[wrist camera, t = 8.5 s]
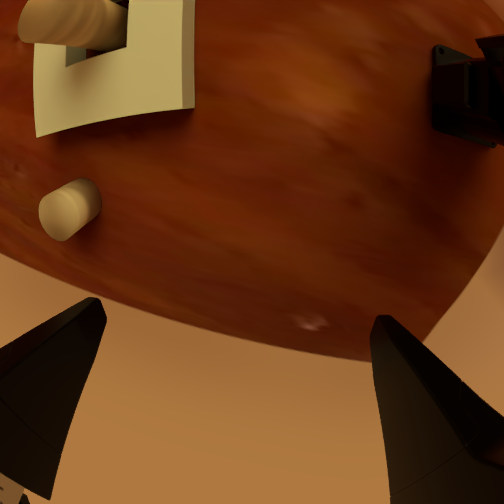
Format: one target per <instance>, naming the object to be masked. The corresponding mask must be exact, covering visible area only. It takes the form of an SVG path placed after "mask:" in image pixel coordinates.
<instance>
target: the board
mask: <svg viewBox="0 0 504 504" xmlns="http://www.w3.org/2000/svg"><path fill="white" fill-rule="evenodd" d="M109 1H111V2H114V3H117V2H120V1H123V0H109ZM194 15H195V0H129V10H128V26H127V47H126V48H122V49H119V50H115V51H112V52H108V53H105V54H102V55H99V56H96V57H93V58H90V59H87V60H86V48H79V47H71V46H63V45H53V44H41V43H35V50H34V76H33V86H34V113H35V126H36V137H40V136H44V135H47V134H51V133H54V132H58V131H62V130H65V129H69V128H73V127H77V126H81V125H85V124H90V123H94V122H99V121H104V120H109V119H114V118H120V117H125V116H131V115H138V114H144V113H151V112H159V111H168V110H177V109H188V108H195V97H194Z"/></svg>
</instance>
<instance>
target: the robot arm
mask: <svg viewBox="0 0 504 504" xmlns="http://www.w3.org/2000/svg"><path fill="white" fill-rule="evenodd" d="M475 40H476V42H477V45H478V47H479V48H481V50H482V52H483V54H484V56H485V57H484V58H472V57H470V56H467V55H465V54H463V53H460V52H458V51H456V50H453V49H451V48H448V47H446V46H443V45H435V46H434V47H433V67H432V101H433V112H432V127H433V129H434V130H435V131H438V132H442V133H445V134H449V135H453V136H456V137H460V138H463V139H467V140H470V141H473V142H476V143H479V144H482V145H485V146H488V147H491V148H495V147H496V146H497V144H499V145H502V146H504V34H499V35H493V36H488V37H483V38H478V39H475ZM439 49H440V50H441V52H442V54H440V52H439ZM438 122H440V127H439V128H438V126H437V124H438ZM491 142H492V143H491ZM106 323H107V316H106V314H105V311H104V308H103V306H102V303H101V301H100V300H99V299H98V298H94V297H88V298H86V299H84V300H83V301H81V302H79V303H77V304H75V305H73V306H71V307H70V308H68V309H66V310H65V311H63V312H61V313H59V314H58V315H56V316H54V317H52V318H50V319H49V320H47V321H45V322H44V323H42V324H40V325H39V326H37V327H35V328H33V329H32V330H30V331H29V332H27V333H25V334H23V335H22V336H20V337H19V338H17V339H15V340H14V341H13V342H10V343H8V344H7V345H5V346H3V347H2V348H0V504H30V503H29V500H28V497H27V495H25V494H24V493H23V491H24V488H26V489H28V490H30V491H31V492H33V493H35V494H37V495H39V496H41V497H43V498H45V499H47V500H50V499H51V495H52V490H53V486H54V482H55V477H56V474H57V470H58V466H59V462H60V458H61V454H62V451H63V447H64V444H65V441H66V437H67V434H68V431H69V428H70V425H71V422H72V419H73V416H74V413H75V410H76V407H77V404H78V401H79V399H80V396H81V393H82V391H83V388H84V385H85V383H86V380H87V378H88V375H89V373H90V370H91V368H92V365H93V363H94V360H95V357H96V354H97V351H98V347H99V345H100V341H101V338H102V335H103V332H104V329H105V325H106ZM370 348H371V358H372V368H373V379H374V386H375V391H376V397H377V402H378V407H379V413H380V419H381V425H382V431H383V438H384V445H385V452H386V460H387V468H388V477H389V489H390V496H391V497H390V504H504V417H503V416H502V415H501V414H500V413H498V412H497V411H496V410H494V409H493V408H492V407H491V406H490V405H489V404H488V403H486V402H485V401H484V400H483V399H482V398H480V397H479V396H478V395H477V394H476V393H475V392H474V391H473V390H472V389H471V388H469V386H467V385H466V384H465V383H464V382H462V380H461V379H460V378H459V377H458V376H457V375H456V374H455V373H454V372H453V371H452V370H451V369H450V368H448V367H447V366H446V365H445V364H444V363H443V362H442V361H441V360H440V359H439V358H438V357H437V356H435V355H434V354H433V353H432V352H431V351H430V350H429V349H428V348H427V347H426V346H425V345H423V344H422V343H421V342H420V341H419V340H418V339H417V338H416V337H415V336H413V335H412V334H411V333H410V332H409V331H408V330H407V329H406V328H404V327H403V326H402V325H401V324H400V323H399V322H398V321H396V320H395V319H394V318H393V317H392V316H391V315H378V316H377V317H376V319H375V322H374V325H373V328H372V331H371V334H370Z"/></svg>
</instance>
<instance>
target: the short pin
mask: <svg viewBox="0 0 504 504" xmlns="http://www.w3.org/2000/svg"><path fill="white" fill-rule="evenodd" d="M101 205H102V200H101V195H100V192H99V190H98V188H97V186H96V185H95V184H94V183H93V182H92V181H90V180H89V179H86V178H78V179H76V180H74V181H72V182H70V183H68V184H66V185H64V186H63V187H61V188H59V189H57V190H55V191H53V192H52V193H50V194H48V195H46V196H45V197H44V198H43V199H42V200H41V202H40V205H39V217H40V221H41V224H42V226H43V228H44V230H45V231H46V232H47V233H48V235H49V236H51V237H52V238H53V239H55V240H58V241H65V240H67V239H68V238H69V237H71V236H72V235H73V234H74V233H76V232H77V231H78V230H79V229H81V228H82V227H83V226H84V225H86V224H87V223H88V222H89V221H91V220H92V219H93V218H95V217H96V216H97V215H98V214H99V212H100V210H101Z"/></svg>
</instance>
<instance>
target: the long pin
mask: <svg viewBox="0 0 504 504" xmlns="http://www.w3.org/2000/svg"><path fill="white" fill-rule="evenodd" d="M127 26H128V9H126V8H124V7H122V6H120V5H118V4H116V3H114V2H111V1H109V0H29V1H28V2H27V4H26V5H25V7H24V9H23V11H22V13H21V16H20V19H19V23H18V35H19V37H20V39H21V40H22V41H23V42H25V43H41V44H53V45H63V46H71V47H79V48H86V49H92V50H98V51H103V52H112V51H115V50H119V49H121V48H122V47H124V46H125V45H126V44H127Z"/></svg>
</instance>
